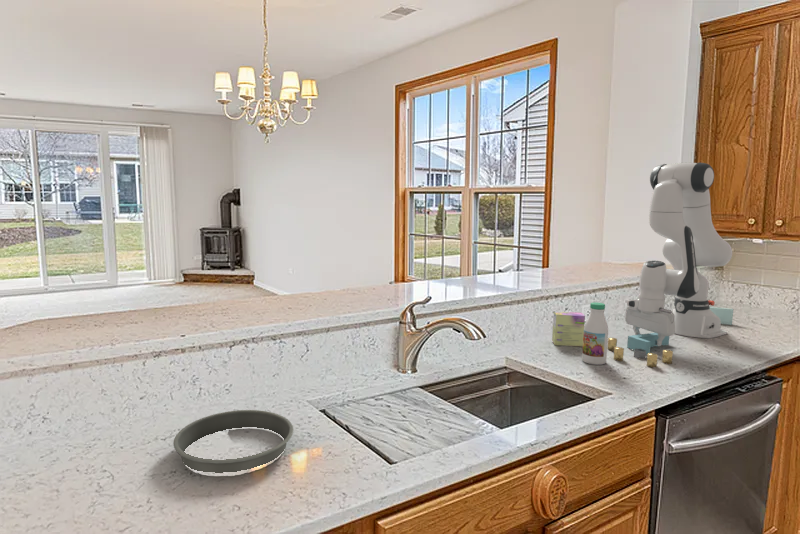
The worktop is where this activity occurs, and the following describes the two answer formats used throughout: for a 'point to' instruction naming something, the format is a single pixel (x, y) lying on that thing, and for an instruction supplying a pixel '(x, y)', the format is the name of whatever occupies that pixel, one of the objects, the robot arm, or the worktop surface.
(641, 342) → the hook tool
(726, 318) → the l-shaped corner panel
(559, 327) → the box
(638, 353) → the nut
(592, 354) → the milk bottle
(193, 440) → the dark grey ring
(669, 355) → the brass spacers
